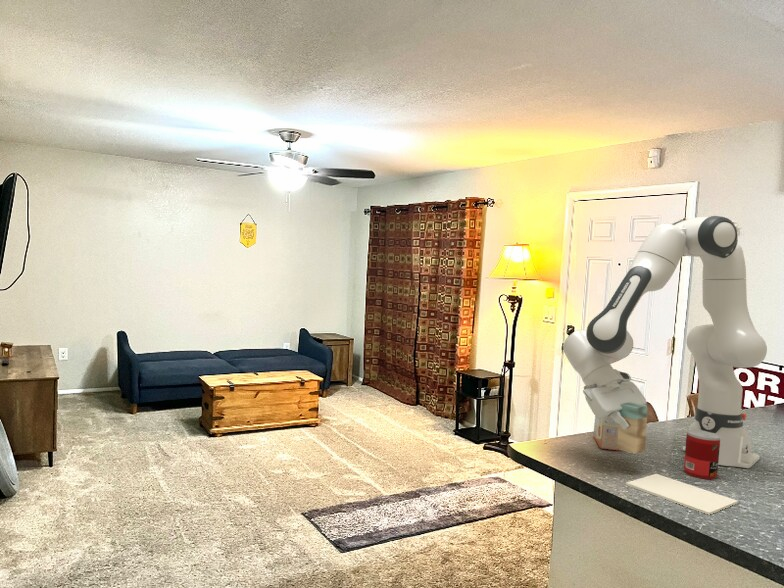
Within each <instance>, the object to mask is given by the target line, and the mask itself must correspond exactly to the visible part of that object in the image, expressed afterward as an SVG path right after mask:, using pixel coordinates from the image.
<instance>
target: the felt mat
mask: <svg viewBox="0 0 784 588" xmlns="http://www.w3.org/2000/svg"><path fill="white" fill-rule="evenodd" d="M625 486H628V487H631V488H633V489H636V490H638V491H641V492H644V493H647V494H649V495H652V496H654V497H657V498H660V499H663V500H665V499H666V501H669V502H672V503H674V504H676V503H677V505H679V504H680V506H682V505H683V506H682V507H685V508H687V507H688V509H691V510H693V511H695V512H698V511H699V513H701V512H702V513H701V514H704V513H705V514H704V515H707V514H708V515H707V516H711V515H713V513H714V514H715V513H716V514H717V513H718V512H721V511H723V510H725V508H726V509H728V508H731V507H733V506H736V505H738V504H739V500H736V499H733V498H731V497H727V496H724V495H721V494H718V493H715V492H713V491H710V490H706V489H703V488H701V487H698V486H695V485H691V484H689V483H686V482H683V481H679V480H677V479H673V478H670V477H667V476H664V475H661V474H658V473H654V474H651V475H648V476H647V475H646V476H643V477H640V478H637V479H634V480H631V481H627V482H625ZM735 504H736V505H735ZM732 505H733V506H732ZM730 506H731V507H730ZM722 509H723V510H722ZM720 510H721V511H720ZM710 514H711V515H710Z"/></svg>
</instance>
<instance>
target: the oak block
mask: <svg viewBox="0 0 784 588" xmlns="http://www.w3.org/2000/svg"><path fill="white" fill-rule="evenodd" d="M620 405H621V407H622V410H619V412H620V414H621V416H622V417H623V418H624V419H625V420H628V422H629V423H630V425H631V426H630V427H629V428H628V429H623V428H622V427H621V426H620V424H618V443H617V449H619V451H620V450H621V451H624V452H626V453H630V454H639V453H643V452H646V443H647V442H646V441H647V427H648V426H647V425H648V406H649V405H647V404H646V405H641V404H637V403H632V402H628V403H623V404H620Z"/></svg>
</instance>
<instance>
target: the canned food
mask: <svg viewBox="0 0 784 588" xmlns="http://www.w3.org/2000/svg"><path fill="white" fill-rule="evenodd" d="M685 446H686V447H685V451H684V463H683V471H684V473H686V474H687V475H688V476H691V477H694V478H697V479H702V480H703V479H704V480H714V479H717V477H718V470H719V465H718V461H719V450H720V436H719V435H717V434H714V433H711V432H707V431H701V430H687V431H686V437H685Z"/></svg>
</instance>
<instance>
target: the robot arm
mask: <svg viewBox="0 0 784 588" xmlns="http://www.w3.org/2000/svg"><path fill="white" fill-rule="evenodd" d="M738 241H739V240H738V231H737V228H736V226H735V223H734V222H733V221H732V220H731V219H729V218H728V217H725V216H720V215H719V216H718V215H711V216H698V217H697V216H696V217H693V218H690V219H686V220H684V219H683V220H679V221H675V222H674V223H672V224H671V223H661V224H657V226H655V227H654V228H653V229H652V230H651V231H650V233H649V234H648V235H647V237H646V238H645V239H644V240H643V242H642V244H641V245H640V247H639V248H638V251H637V252H636V254H635V256H634V258H633V260H632V262H631V264H630V266H629V269H628V270H627V272H626V274H625V276H624V277H623V279H622V280H621V282H620V284H619V285H618V287H617V289H616V291H615V292H614V293H613V294H612V297H611V298H610V300H609V301H608V304H607V305H606V306H605V308H603V310H602V311H601V312H600V313H598V314H597V315H596V316H594V317H593V318H592V319H591V320H590V322H589V323H588V325H587V327H586V330H584V329H583V330H581V329H578V330H575V331H574V332H572V333H570V334H569V335H568V336H567V337H566V338H565V340H564V342H563V346H562V348H563V352H564V354H565V357H566V359H567V360H568V362H569V363H570V365H571V366H572V368H573V369H574V371H575V372H577V373H578V374H579V376H580V377H581V380H582V382H583V384H584V386H583V388H582V390H583V391H582V392H583V394H584V396H585V400H586V402H587V404H588V406H589V409H590V410H591V412H592V413H593V414H594V417H595V416H596V417H598V418H605V417H609V416H611V418H612V419H613V420H614V421H616V422H617V423H618V424H620V426H621V427H622V428H623V429H628V428H629V427H630V426H631V425H630V423H629V422H628V420H625V419H624V418H623V417H622V416H621V414H620V412H619V410H622V407H621V405H620V404H623V403H628V402H632V403H637V404H641V405H646V406H647V404H648V403H647V399H646V397H645V396H644V394H643V392H642V391H641V390H640V389H639V387H638V386H637V385H636V384H635V383H634V382H633V381H631V380H632V376H631V375H630V374H629V373H628V372H623V371H621V370H618V369H615V368H614V367H612V364H614V363H617V362H619V361H621V360H623V359H626V357H628V356H629V355H630V354H631V353H632V351H633V349H634V340H633V337H632V336H631V334H630V332H629V331H628V320H629V319H630V317H631V315H632V314H633V311H634V310H635V309H636V307H637V305H638V303H639V302H640V300H641V298H642V297H643V296H644V295H645V294H646V293H648V292H656V291H660V290H662V289H663V288H664V287H665V286H666V285H667V284H668V282H669V280H671V278H672V276H673V275H674V273H675V271H676V269H677V267H678V265H679V263H680V260H681V259H682V257H694V258H695V257H696V258H697V257H699V258H700V260H701V262H702V278H701V279H702V306H703V308H704V309H705V310H706V312H707V313H708V314H709V317H710V320H711V321H712V324H702V325H698V326H695V327H693V328H691V329H690V331H689V332H688V334H687V337H686V346H687V349H688V350H689V352H690V353H691V355H692V357H693V359H694V361H695V367H696V371H697V375H698V397H697V399H698V400H697V407H695V411H694V419H695V421H694V422H693V423H690V425H689V430H701V431H707V432H711V433H714V434H717V435H719V436H720V450H719V461H718V466H723V467H724V466H726V467H738V468H745V469H751V468H752V467H753V466H754V465H755V464H756V463H757V462H758V461H759V460H761V459H760V458H761V457H760V455H759V454H757V453H755V452H752V442H753V441H752V438H751V436H750V435H749V434H748V433H747V431H746V430H745V429H744V427H743V426H744V421H746V419H747V414H746V413H742V412H741V411H742V403H743V390H744V389H743V386H742V384H741V383H740V381H739V380H738V379H737V377H736V374H735V371H734V368H738V369H739V368H754V367H757V366H759V365H760V364H762V363H763V361H764V360H765V359H766V356H767V351H768V347H767V342H766V341H765V339H764V338H763V337H762V336H761V335H760V333H759V332H758V331H757V329H756V328H755V326H754V324H753V321H752V319H751V315H750V312H749V309H748V300H747V298H748V297H747V270H746V261H745V255H744V251H743V247H742V246H741V245H740V243H738ZM685 447H686V445H682V451H684V452H685Z"/></svg>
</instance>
